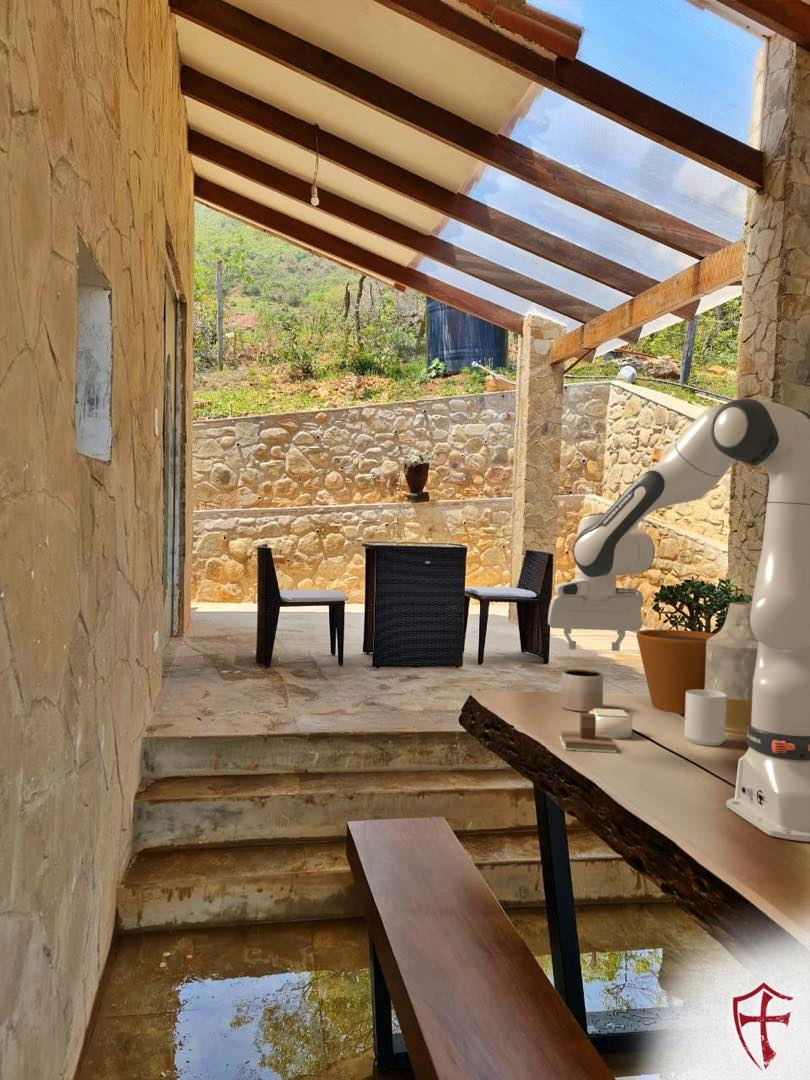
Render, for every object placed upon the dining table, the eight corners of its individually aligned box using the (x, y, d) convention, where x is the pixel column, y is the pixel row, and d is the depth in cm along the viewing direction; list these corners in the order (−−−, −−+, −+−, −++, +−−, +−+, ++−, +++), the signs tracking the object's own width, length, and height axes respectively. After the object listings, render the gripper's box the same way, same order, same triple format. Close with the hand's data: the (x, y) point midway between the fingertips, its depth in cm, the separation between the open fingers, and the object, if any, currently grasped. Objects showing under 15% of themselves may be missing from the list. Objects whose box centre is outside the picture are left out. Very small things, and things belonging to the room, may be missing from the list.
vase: (744, 715, 224) (748, 600, 223) (799, 732, 207) (804, 607, 206) (687, 719, 217) (692, 600, 217) (740, 737, 200) (745, 607, 200)
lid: (615, 750, 183) (616, 721, 182) (565, 747, 183) (566, 719, 183) (607, 738, 193) (608, 710, 193) (560, 735, 194) (561, 708, 194)
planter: (552, 705, 229) (553, 670, 229) (585, 703, 234) (586, 668, 234) (577, 714, 220) (578, 677, 219) (611, 711, 224) (612, 675, 224)
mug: (727, 748, 189) (728, 698, 189) (685, 744, 191) (686, 695, 191) (721, 736, 201) (723, 689, 201) (682, 732, 203) (684, 686, 203)
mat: (616, 752, 182) (616, 750, 182) (564, 750, 183) (564, 747, 183) (607, 740, 193) (608, 737, 193) (559, 737, 194) (559, 735, 194)
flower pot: (616, 701, 237) (618, 630, 237) (684, 697, 246) (686, 628, 246) (674, 721, 215) (676, 642, 215) (746, 715, 224) (749, 639, 224)
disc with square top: (635, 739, 194) (636, 718, 194) (591, 737, 195) (592, 715, 195) (627, 729, 204) (628, 708, 204) (585, 727, 205) (586, 706, 205)
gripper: (640, 587, 190) (638, 649, 190) (547, 585, 191) (546, 646, 191) (646, 589, 184) (644, 653, 184) (550, 586, 185) (549, 650, 185)
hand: (593, 650), depth 188 cm, fingers open, 8 cm apart
